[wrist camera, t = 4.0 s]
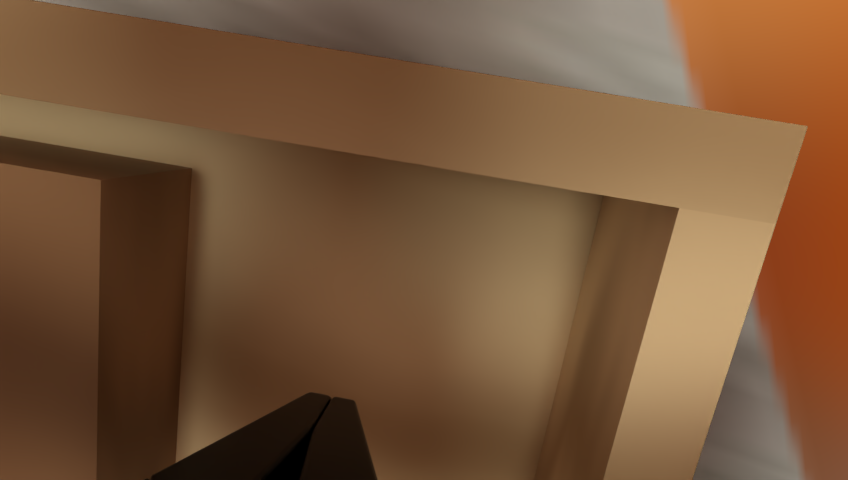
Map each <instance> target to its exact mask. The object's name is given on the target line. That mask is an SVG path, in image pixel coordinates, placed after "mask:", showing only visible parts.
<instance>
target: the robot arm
mask: <svg viewBox="0 0 848 480" xmlns="http://www.w3.org/2000/svg"><path fill="white" fill-rule="evenodd" d="M144 480H378V479H377V476H376V472H375V468H374V465H373V461H372V458H371V454H370V451H369V447H368V444H367V440H366V436H365V433H364V429H363V426H362V422H361V419H360V415H359V412H358V408H357V405H356V402H355V401H354V400H352V399H347V398H341V397H333V398H332V399H331V397H330V396H329V395H325V394H320V393H314V392H309V393H306V394H304V395H302V396H301V397H299V398H297V399H295V400H293V401H291V402H289V403H287V404H285V405H284V406H282V407H280V408H278V409H276V410H274V411H272V412H270V413H268V414H267V415H265V416H263V417H261V418H259V419H257V420H255V421H253V422H252V423H250V424H248V425H246V426H244V427H242V428H240V429H238V430H236V431H235V432H233V433H231V434H229V435H227V436H225V437H223V438H221V439H219V440H218V441H216V442H214V443H212V444H210V445H208V446H206V447H204V448H202V449H201V450H199V451H197V452H195V453H193V454H191V455H189V456H187V457H186V458H184V459H182V460H180V461H178V462H176V463H174V464H172V465H170V466H169V467H167V468H165V469H163V470H161V471H159V472H157V473H155V474H153V475H152V476H151V478H150V479H149V478H146V479H144Z"/></svg>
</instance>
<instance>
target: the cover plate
mask: <svg viewBox="0 0 848 480" xmlns="http://www.w3.org/2000/svg"><path fill="white" fill-rule="evenodd" d="M191 177H192V168H189V167H183V166H177V165H171V164H166V163H160V162H154V161H148V160H142V159H136V158H130V157H124V156H118V155H112V154H107V153H101V152H95V151H89V150H83V149H77V148H71V147H65V146H59V145H53V144H48V143H42V142H36V141H30V140H24V139H18V138H12V137H6V136H0V480H144V479H146V478H149V479H150V478H151V476H152V475H153V474H155V473H157V472H159V471H161V470H163V469H165V468H167V467H169V466H170V465H172V464H174V463H176V446H177V428H178V410H179V392H180V375H181V357H182V339H183V321H184V303H185V285H186V267H187V249H188V231H189V213H190V195H191Z"/></svg>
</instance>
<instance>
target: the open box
mask: <svg viewBox="0 0 848 480" xmlns="http://www.w3.org/2000/svg"><path fill="white" fill-rule="evenodd" d="M806 130H807V126H803V125H796V124H790V123H784V122H778V121H771V120H766V119H759V118H753V117H747V116H741V115H734V114H729V113H723V112H716V111H710V110H704V109H698V108H692V107H686V106H679V105H673V104H667V103H661V102H655V101H649V100H643V99H636V98H630V97H624V96H618V95H612V94H606V93H599V92H593V91H587V90H581V89H575V88H569V87H562V86H556V85H550V84H544V83H538V82H532V81H526V80H519V79H513V78H507V77H501V76H495V75H489V74H482V73H476V72H470V71H464V70H458V69H452V68H445V67H439V66H433V65H427V64H421V63H415V62H409V61H402V60H396V59H390V58H384V57H378V56H372V55H365V54H359V53H353V52H347V51H341V50H335V49H328V48H322V47H316V46H310V45H304V44H298V43H292V42H285V41H279V40H273V39H267V38H261V37H255V36H248V35H242V34H236V33H230V32H224V31H218V30H211V29H205V28H199V27H193V26H187V25H181V24H175V23H168V22H162V21H156V20H150V19H144V18H138V17H131V16H125V15H119V14H113V13H107V12H101V11H94V10H88V9H82V8H76V7H70V6H64V5H58V4H51V3H45V2H39V1H33V0H0V136H6V137H12V138H18V139H24V140H30V141H36V142H42V143H48V144H53V145H59V146H65V147H71V148H77V149H83V150H89V151H95V152H101V153H107V154H112V155H118V156H124V157H130V158H136V159H142V160H148V161H154V162H160V163H166V164H171V165H177V166H183V167H189V168H192V177H191V195H190V213H189V231H188V249H187V267H186V285H185V303H184V321H183V339H182V357H181V375H180V392H179V410H178V428H177V446H176V462H178V461H180V460H182V459H184V458H186V457H187V456H189V455H191V454H193V453H195V452H197V451H199V450H201V449H202V448H204V447H206V446H208V445H210V444H212V443H214V442H216V441H218V440H219V439H221V438H223V437H225V436H227V435H229V434H231V433H233V432H235V431H236V430H238V429H240V428H242V427H244V426H246V425H248V424H250V423H252V422H253V421H255V420H257V419H259V418H261V417H263V416H265V415H267V414H268V413H270V412H272V411H274V410H276V409H278V408H280V407H282V406H284V405H285V404H287V403H289V402H291V401H293V400H295V399H297V398H299V397H301V396H302V395H304V394H306V393H309V392H314V393H320V394H325V395H329V396H330V397H331V399H332V398H333V397H341V398H347V399H352V400H354V401H355V402H356V405H357V408H358V412H359V415H360V419H361V422H362V426H363V429H364V433H365V436H366V440H367V444H368V447H369V451H370V454H371V458H372V461H373V465H374V468H375V472H376V476H377V479H378V480H692V479H693V476H694V473H695V470H696V467H697V464H698V460H699V457H700V454H701V451H702V448H703V445H704V442H705V439H706V436H707V433H708V430H709V427H710V424H711V421H712V418H713V415H714V412H715V408H716V405H717V402H718V399H719V396H720V393H721V390H722V387H723V384H724V381H725V378H726V375H727V372H728V369H729V366H730V363H731V360H732V356H733V353H734V350H735V347H736V344H737V341H738V338H739V335H740V332H741V329H742V326H743V323H744V320H745V317H746V314H747V311H748V308H749V304H750V301H751V298H752V295H753V292H754V289H755V286H756V283H757V280H758V277H759V274H760V271H761V268H762V264H763V262H764V259H765V256H766V252H767V249H768V246H769V243H770V240H771V237H772V234H773V231H774V228H775V225H776V222H777V219H778V216H779V213H780V210H781V207H782V203H783V200H784V197H785V194H786V191H787V188H788V185H789V182H790V179H791V176H792V173H793V170H794V167H795V164H796V160H797V158H798V155H799V152H800V148H801V145H802V142H803V139H804V136H805V133H806Z"/></svg>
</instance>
